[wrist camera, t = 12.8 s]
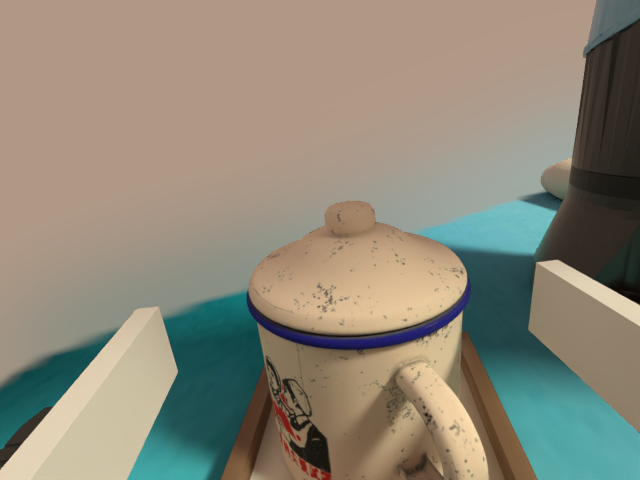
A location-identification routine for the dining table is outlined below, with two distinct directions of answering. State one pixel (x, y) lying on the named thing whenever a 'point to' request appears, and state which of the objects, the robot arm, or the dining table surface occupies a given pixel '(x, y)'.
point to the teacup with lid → (366, 352)
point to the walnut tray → (474, 393)
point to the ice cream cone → (557, 178)
